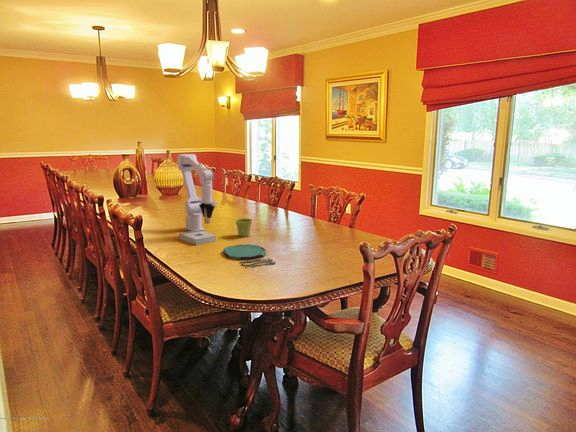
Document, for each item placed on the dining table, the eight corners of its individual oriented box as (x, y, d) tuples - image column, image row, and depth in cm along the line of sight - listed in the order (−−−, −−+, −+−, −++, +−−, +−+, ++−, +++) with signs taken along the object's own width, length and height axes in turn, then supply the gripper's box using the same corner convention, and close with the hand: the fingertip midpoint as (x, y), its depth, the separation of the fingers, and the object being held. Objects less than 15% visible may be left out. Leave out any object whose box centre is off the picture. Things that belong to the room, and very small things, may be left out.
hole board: (179, 239, 224) (179, 233, 224) (198, 235, 233) (198, 229, 232) (196, 245, 213) (196, 239, 213) (216, 241, 222) (215, 235, 221)
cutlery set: (257, 246, 214) (257, 242, 213) (280, 265, 187) (280, 260, 187) (218, 250, 206) (218, 246, 206) (236, 271, 179) (236, 266, 179)
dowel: (203, 222, 232) (203, 208, 230) (208, 222, 234) (207, 207, 232) (206, 223, 230) (206, 209, 228) (211, 222, 232) (211, 208, 230)
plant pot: (236, 238, 228) (236, 222, 226) (234, 234, 237) (234, 218, 235) (253, 237, 231) (254, 221, 229) (250, 233, 239) (250, 218, 238)
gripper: (192, 191, 231) (193, 216, 233) (208, 195, 221) (209, 220, 224) (203, 190, 236) (204, 214, 238) (219, 193, 226) (220, 218, 228)
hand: (207, 217), depth 231 cm, fingers closed on dowel, 3 cm apart
